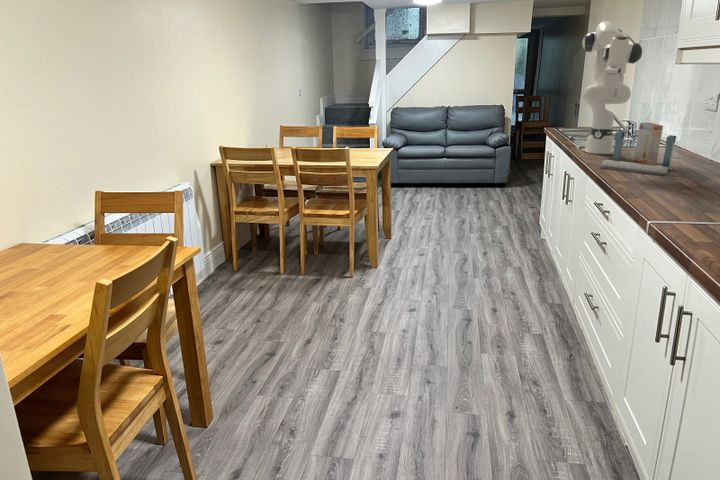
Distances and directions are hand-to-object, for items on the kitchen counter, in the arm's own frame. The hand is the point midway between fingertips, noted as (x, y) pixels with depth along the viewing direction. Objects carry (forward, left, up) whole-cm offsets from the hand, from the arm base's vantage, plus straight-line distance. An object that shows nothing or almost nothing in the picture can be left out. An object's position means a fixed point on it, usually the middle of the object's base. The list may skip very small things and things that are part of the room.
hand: (612, 97), depth 284 cm
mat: (+13, +19, -34) cm, 41 cm away
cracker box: (-13, +18, -34) cm, 41 cm away
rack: (+1, +19, -34) cm, 39 cm away
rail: (+13, +19, -34) cm, 41 cm away
